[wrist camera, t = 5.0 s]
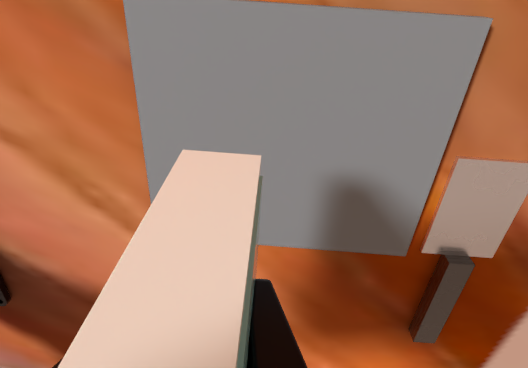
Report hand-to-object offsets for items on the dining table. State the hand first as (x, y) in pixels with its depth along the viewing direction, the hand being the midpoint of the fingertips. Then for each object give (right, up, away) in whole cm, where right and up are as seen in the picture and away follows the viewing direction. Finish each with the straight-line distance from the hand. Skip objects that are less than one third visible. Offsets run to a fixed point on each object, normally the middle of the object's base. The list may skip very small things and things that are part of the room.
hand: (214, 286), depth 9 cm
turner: (+12, -1, +11) cm, 16 cm away
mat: (+3, +5, +8) cm, 9 cm away
